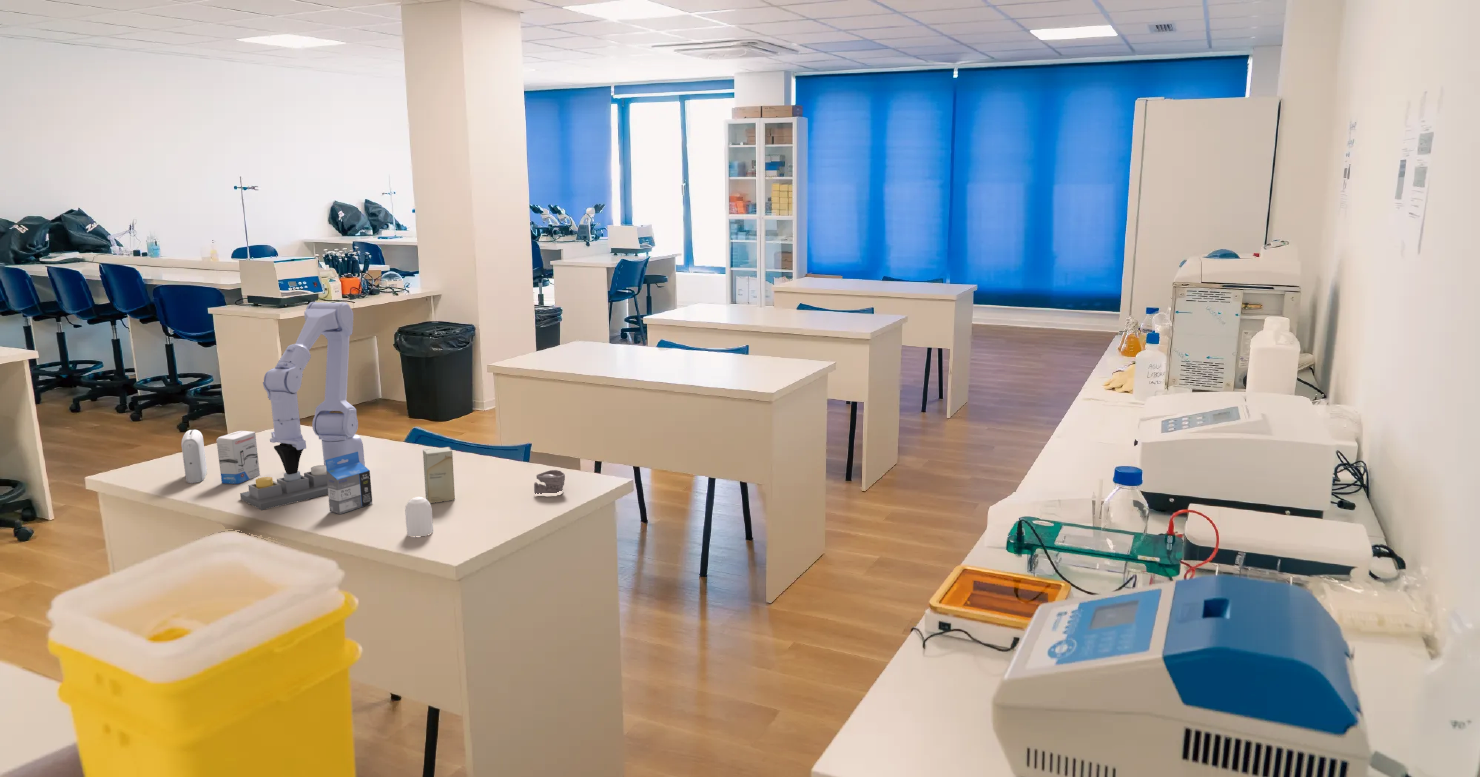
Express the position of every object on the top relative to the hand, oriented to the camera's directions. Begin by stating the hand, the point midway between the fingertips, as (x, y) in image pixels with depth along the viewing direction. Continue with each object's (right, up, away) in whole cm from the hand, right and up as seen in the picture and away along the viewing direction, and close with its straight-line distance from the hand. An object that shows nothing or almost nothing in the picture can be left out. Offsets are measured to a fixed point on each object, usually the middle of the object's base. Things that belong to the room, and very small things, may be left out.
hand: (291, 473), depth 228 cm
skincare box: (+37, -6, -3) cm, 37 cm away
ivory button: (+4, -2, +5) cm, 7 cm away
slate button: (0, -3, +1) cm, 3 cm away
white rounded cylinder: (+39, -11, -25) cm, 48 cm away
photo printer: (-32, -3, +15) cm, 35 cm away
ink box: (-19, -3, +14) cm, 24 cm away
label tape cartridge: (+18, -7, -9) cm, 21 cm away
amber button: (-4, -4, -4) cm, 7 cm away
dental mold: (+62, -5, +1) cm, 62 cm away
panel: (0, -5, +1) cm, 5 cm away
